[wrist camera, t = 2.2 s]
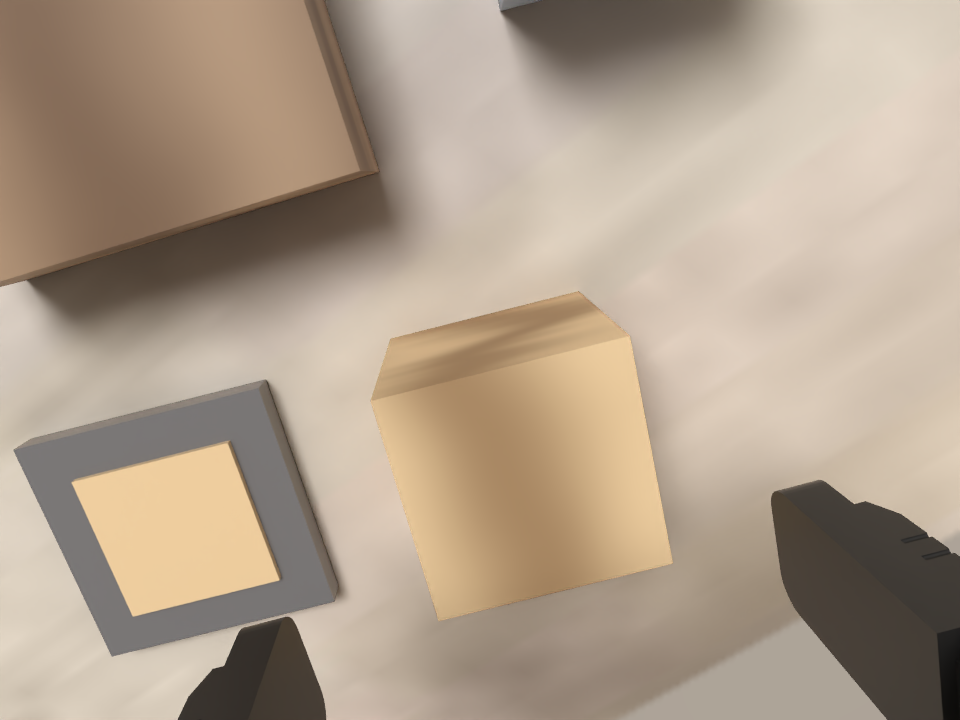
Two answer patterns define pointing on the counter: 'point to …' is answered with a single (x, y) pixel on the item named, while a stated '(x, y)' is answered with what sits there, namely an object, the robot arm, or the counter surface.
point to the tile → (182, 518)
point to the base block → (162, 120)
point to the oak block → (521, 454)
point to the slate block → (513, 3)
